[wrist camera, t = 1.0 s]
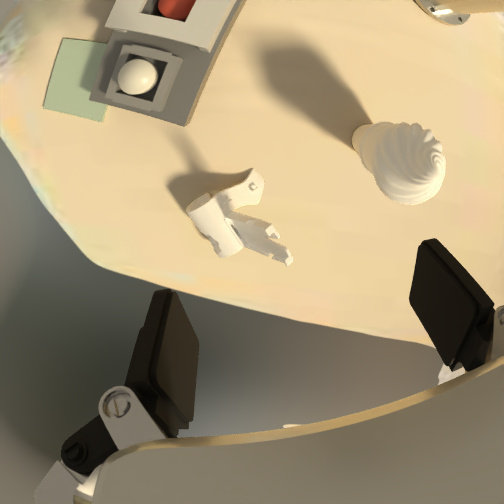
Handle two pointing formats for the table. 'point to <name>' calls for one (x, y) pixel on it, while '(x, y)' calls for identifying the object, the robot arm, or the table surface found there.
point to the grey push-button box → (164, 55)
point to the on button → (137, 76)
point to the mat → (76, 80)
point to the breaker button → (176, 8)
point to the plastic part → (236, 221)
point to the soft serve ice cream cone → (401, 160)
